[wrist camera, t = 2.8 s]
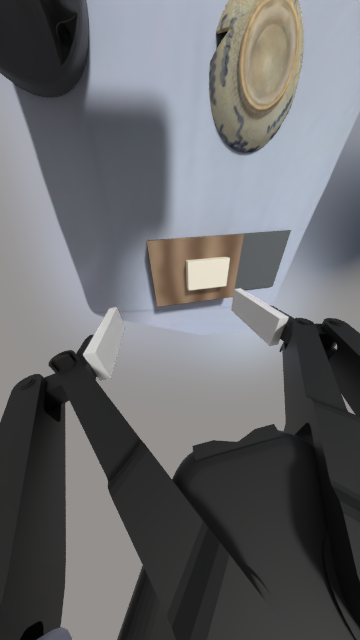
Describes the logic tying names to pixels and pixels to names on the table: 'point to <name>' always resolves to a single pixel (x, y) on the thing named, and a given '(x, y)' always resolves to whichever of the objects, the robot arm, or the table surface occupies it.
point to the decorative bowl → (255, 70)
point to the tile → (207, 273)
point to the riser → (172, 266)
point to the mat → (260, 259)
